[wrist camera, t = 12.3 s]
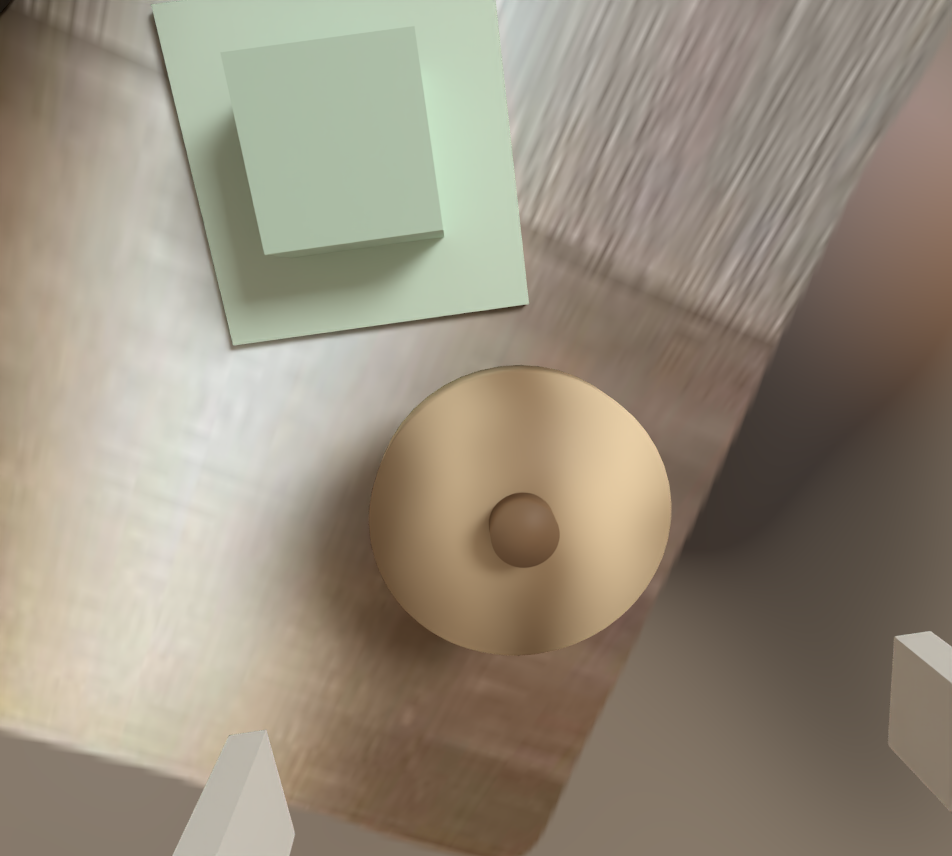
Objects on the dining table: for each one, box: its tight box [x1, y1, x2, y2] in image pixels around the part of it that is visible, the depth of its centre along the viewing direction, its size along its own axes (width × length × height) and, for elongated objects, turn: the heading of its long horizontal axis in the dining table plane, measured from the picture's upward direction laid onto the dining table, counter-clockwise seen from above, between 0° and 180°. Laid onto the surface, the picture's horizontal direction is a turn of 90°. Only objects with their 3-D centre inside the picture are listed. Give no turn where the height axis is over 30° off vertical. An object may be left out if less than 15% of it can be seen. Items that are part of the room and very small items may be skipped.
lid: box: [369, 365, 671, 656], centre depth 23 cm, size 12×12×3 cm
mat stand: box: [151, 0, 529, 346], centre depth 24 cm, size 14×14×4 cm
